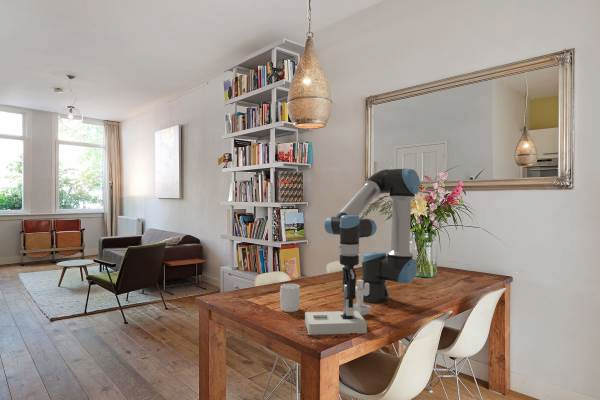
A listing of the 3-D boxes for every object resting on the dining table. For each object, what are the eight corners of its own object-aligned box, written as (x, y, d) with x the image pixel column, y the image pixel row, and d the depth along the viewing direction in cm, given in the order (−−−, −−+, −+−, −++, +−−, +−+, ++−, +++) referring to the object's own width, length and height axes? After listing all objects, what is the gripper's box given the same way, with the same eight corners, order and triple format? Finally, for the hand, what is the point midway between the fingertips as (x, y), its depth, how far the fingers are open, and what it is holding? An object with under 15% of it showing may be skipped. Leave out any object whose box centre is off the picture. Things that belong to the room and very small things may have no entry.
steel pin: (352, 318, 150) (352, 283, 150) (354, 321, 146) (354, 286, 146) (342, 318, 150) (342, 283, 149) (344, 321, 146) (344, 286, 145)
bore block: (357, 320, 155) (357, 310, 155) (366, 333, 142) (366, 322, 141) (304, 321, 153) (305, 312, 153) (309, 334, 139) (309, 324, 139)
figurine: (357, 309, 170) (357, 276, 169) (373, 315, 162) (374, 280, 162) (346, 312, 165) (346, 279, 165) (362, 318, 158) (362, 283, 157)
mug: (287, 303, 178) (287, 281, 178) (303, 310, 169) (303, 286, 168) (272, 306, 173) (272, 283, 172) (287, 313, 163) (288, 289, 163)
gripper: (335, 250, 155) (335, 306, 156) (344, 258, 138) (343, 320, 139) (353, 250, 156) (352, 306, 157) (364, 258, 139) (363, 320, 140)
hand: (348, 313), depth 148 cm, fingers closed on steel pin, 4 cm apart
